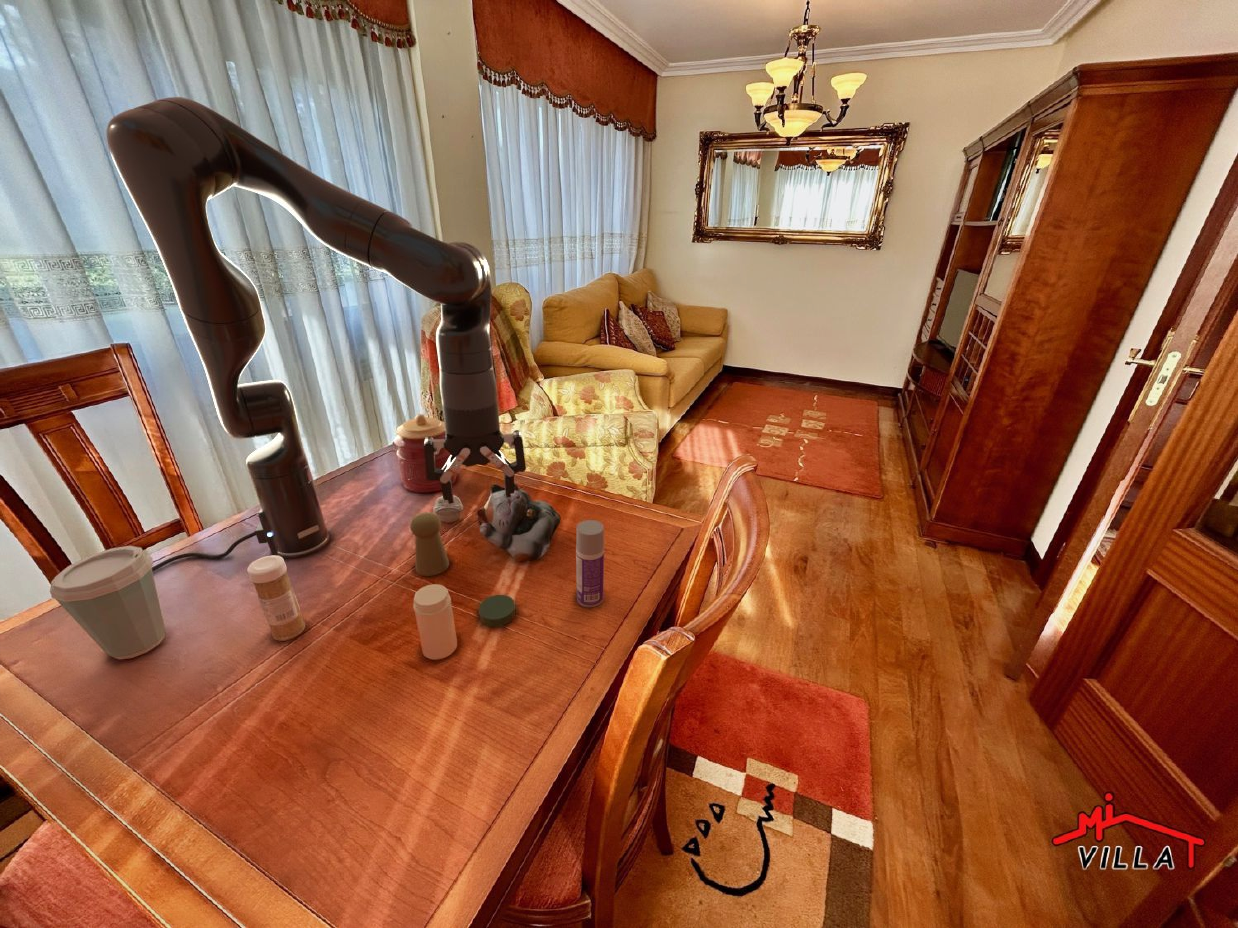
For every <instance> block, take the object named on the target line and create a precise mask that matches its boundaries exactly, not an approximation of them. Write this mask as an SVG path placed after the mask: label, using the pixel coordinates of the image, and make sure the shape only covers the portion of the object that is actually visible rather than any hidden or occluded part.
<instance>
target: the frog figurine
mask: <svg viewBox="0 0 1238 928" xmlns="http://www.w3.org/2000/svg"><path fill="white" fill-rule="evenodd" d="M432 508H433V509H432V511H433V513H434V514H436V515H437V516H438V517H439V519H440V521H441V522H443V523H447V524H448V523H449V524H450V523H455V522H456V521H457V520H458V519H460V516H461V515H462V511H463V509H464V505H463V503H462V501H461V499H460V498H459V497H458V496H456V495H454V494H453V503H450V504H449V503H448V500H444V499H443V495H441V496H439V497H438V498H437V499H436V500H435V502H434V505H433V507H432Z"/></svg>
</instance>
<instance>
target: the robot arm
mask: <svg viewBox="0 0 1238 928" xmlns="http://www.w3.org/2000/svg"><path fill="white" fill-rule="evenodd" d="M106 141H107V146H108V150H109V153H110V155H111V158H112V162H113V164H114V165H115V168H116V170H117V172H118V175H119V176H120V178H121V179H122V182H123V184H124V186H125V188H126V190H127V192H128V193H129V196H130V197H131V199H132V202H133V203H134V205H135V207H136V209H137V211H138V213H139V215H140V217H141V218H142V221H143V222H144V224H145V226H146V229H147V231H148V232H149V234H150V236H151V238H152V241H153V243H154V245H155V248H156V250H157V252H158V254H159V257H160V259H161V261H162V263H163V266H164V269H165V271H166V274H167V276H168V279H169V282H170V283H171V286H172V289H173V292H174V296H175V298H176V299H175V300H176V301H177V305H178V308H179V310H180V312H181V315H182V317H183V320H184V324H185V326H186V328H187V331H188V332H189V335H190V337H191V340H192V342H193V344H194V346H195V348H196V351H197V353H198V355H199V358H200V360H201V363H202V365H203V369H204V371H205V374H206V378H207V381H208V385H209V389H210V392H211V396H212V399H213V403H214V407H215V409H216V414H217V416H218V419H219V421H220V424H221V426H222V428H223V429H224V431H225V432H226V433H227V435H228V436H230V437H231V438H233V439H236V440H247V439H255V438H260V437H265V436H271V435H275V434H277V435H276V436H275V437H274V438H273V439H272V440H270V441H269V442H268V443H266V444H265V445H263V446H262V447H260V448H258V449H256V450H254V451H253V452H252V453H250V454H249V455H248V456H247V458H246V460H245V461H246V462H245V464H246V468H247V471H248V475H249V476H250V479H251V482H252V485H253V488H254V491H255V494H256V498H257V500H258V503H259V506H260V510H259V512H258V514H257V515H258V519H259V523H258V525H257V527H256V528H255V530H254V531H253V532H251V533H248V534H246V535H244V536H242V537H240V538H239V539H237V540H235V541H234V542H233V543H232V544H231V545H230V546H229V547H228V548H227V550H226V551H225V552H222V553H219V554H208V553H207V554H206V553H203V552H202V553H201V552H186V553H182V554H181V553H180V554H178V555H175V556H172V557H169V558H168V559H165V560H163V561H161V562H160V563H158V564H156V565H153V566H152V572H153V573H154V572H155V571H157V570H159V569H160V568H163V567H164V566H166V565H168V564H170V563H172V562H175V561H178V560H181V559H184V558H185V559H186V558H190V557H191V558H192V557H195V558H202V559H208V560H219V559H222V558H223V559H224V558H226V557H227V556H229V555H230V554H231V553H232V552H233V551H234V549H235V548H236V547H237V546H238V545H240V544H241V543H243V542H244V541H247V540H249V539H251V538H253V537H255V536H256V539H257V542H258V544H260V545H261V544H267V545H268V548H269V551H270V554H271V555H276V556H280V557H282V558H283V559H284V558H286V559H295V558H300V557H302V558H303V557H305V556H308V555H311V554H314V553H316V552H319V550H321V549H323V548H324V547H325V546H327V545H328V543H329V541H330V533H329V531H328V528H327V524H326V521H325V518H324V517H325V516H324V514H323V510H322V506H321V502H320V500H319V495H318V493H317V489H316V485H315V480H314V478H313V474H312V470H311V467H310V463H309V460H308V457H307V453H306V450H305V447H304V443H303V440H302V436H301V431H300V427H299V421H298V415H297V411H296V406H295V403H294V399H293V395H292V393H291V391H290V389H289V387H288V386H287V384H286V383H285V382H283V381H282V380H279V379H270V380H263V381H255V382H248V383H241V384H239V381H240V379H241V376H242V374H243V372H244V370H245V368H246V367H247V366H248V365H249V363H250V362H251V360H252V359H253V358H254V356H255V355H256V354H257V352H258V350H259V349H260V347H261V346H262V343H263V341H264V339H265V336H266V333H267V324H266V319H265V315H264V311H263V307H262V303H261V299H260V295H259V292H258V289H257V287H256V286H255V284H254V283H253V281H252V280H251V278H250V277H249V276H248V275H247V274H246V273H245V272H244V271H243V270H242V269H241V268H240V267H238V266H237V265H236V264H235V263H233V261H232V260H230V259H229V258H228V257H227V256H225V254H224V253H222V252H221V251H220V249H219V248H218V246H217V244H216V242H215V239H214V236H213V233H212V230H211V227H210V221H209V218H208V212H207V203H208V201H209V200H211V199H214V198H215V197H216V196H218V195H221V194H222V193H224V192H226V191H228V190H229V189H231V188H232V187H236V188H240V189H243V190H247V191H249V192H250V191H251V192H253V193H256V194H259V195H261V196H264V197H266V198H269V199H271V200H272V201H274V202H276V203H278V204H279V205H281V206H282V207H283V208H285V209H286V210H287V211H288V212H289V213H290V214H292V216H293V217H295V219H296V220H297V221H298V222H299V223H300V224H301V225H302V226H303V227H304V228H305V229H306V230H307V231H308V232H309V233H310V235H312V236H313V237H315V239H316V240H317V241H319V243H322V244H323V245H325V246H326V247H328V248H329V249H330V250H332V251H335V252H336V253H338V254H341V255H342V256H344V257H347V258H349V259H351V260H353V261H356V262H358V263H360V264H362V265H365V266H367V267H369V268H372V269H374V270H377V271H379V272H381V273H385V274H387V275H389V276H390V277H392V278H393V279H395V280H396V281H398V282H399V283H400V284H402V285H404V286H405V287H407V288H408V289H410V290H412V291H414V292H415V293H417V294H418V295H420V296H422V297H424V298H426V299H427V300H430V301H432V302H435V303H437V304H440V323H439V325H438V326H437V329H436V333H435V344H436V351H437V359H438V367H439V390H440V397H441V406H442V413H443V422H444V423H445V430H446V437H445V439H433V438H432V437H430V436H428V437H426V438H425V443H424V454H425V466H426V478H427V479H428V480H430V481H432V480H438V481H439V482H440V483H441V488H442V490H441V494H442V495H443V499H444V500H448V503H449V504H450V503H453V495H454V490H453V484H452V482H451V477H452V475H453V474H454V473H456V471H457V472H458V470H459V468H460V467H461V466H465V468H469V467H473V466H477V465H478V466H488V464H489V463H492V464H493V465H494V466H495V467H496V468H497V469H498V470H500V471H501V472H502V473H503V479H504V480H503V481H504V488H505V493H506V498H507V497H511V494H512V493H514V491H515V485H514V483H515V475H516V474H517V473H524V472H526V470H527V466H526V457H525V449H524V443H523V441H524V440H523V437H522V432H521V431H520V430H518V429H515V430H513V432H511V433H505V434H503V433H502V432H501V428H500V425H501V424H500V414H499V413H500V412H499V403H498V388H497V380H496V375H495V370H494V361H493V359H494V358H493V347H492V339H491V331H490V329H491V328H490V327H491V312H492V310H491V309H492V276H491V270H490V265H489V263H488V261H487V257H486V256H485V255H484V254H483V253H482V251H481V250H480V249H479V248H478V247H476V246H474V245H473V244H471V243H468V242H464V241H453V242H449V243H448V242H445V241H443V240H441V239H437V238H435V237H433V236H431V235H429V234H426V233H424V232H423V231H420V230H418V229H417V228H415V227H414V226H413V224H412V223H411V222H410V221H408V220H407V219H406V218H405V217H402V216H401V215H399V214H397V213H396V212H394V211H390V210H388V209H386V208H384V207H382V206H380V205H378V204H376V203H374V202H372V201H369V200H367V199H365V198H363V197H360V196H358V195H356V194H354V193H352V192H350V191H347V190H345V189H343V188H342V187H340V186H337V185H336V184H334V183H332V182H330V181H328V180H326V179H324V178H322V177H320V176H319V175H317V174H315V173H314V172H312V171H311V170H309V169H308V168H305V167H304V166H302V165H301V164H299V163H297V162H296V161H295V160H293V159H291V158H289V157H288V156H287V155H285V154H283V153H282V152H280V151H279V150H277V149H275V148H273V146H270V145H269V144H267V143H266V142H264V141H263V140H261V139H260V138H258V137H256V136H255V135H253V134H252V133H250V132H249V131H247V130H245V129H244V128H243V127H241V126H240V125H238V124H236V123H235V122H234V121H232V120H230V119H229V118H227V117H225V116H224V115H222V114H221V113H219V112H217V111H215V110H214V109H211V108H210V107H208V106H206V105H204V104H203V103H200V102H198V101H195V100H193V99H189V98H186V97H182V96H172V97H171V96H170V97H164V98H160V99H157V100H153V101H152V102H149V103H146V104H143V105H142V104H141V105H140V106H137V107H134V108H130V109H127V110H124V111H122V112H120V113H118V114H117V115H114V116H113V117H112V118H111V119H109V122H108V124H107V127H106ZM505 444H508V447H509V448H510V449H514V454H515V461H512V462H511V461H510V460H508V459H507V457H506V456H505V455H504V453H502V451H501V449H502V447H504V445H505ZM443 447H444V448H445V449H446V450H447V451H448V452H449V453H450V454H451V456H450V457H449V459H448V461H447V463H446V464H445V466H444V467H443V468H442V469H437V468H436V464H435V455H437V454H439V452H440V449H441V448H443ZM442 495H441V496H442Z"/></svg>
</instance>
